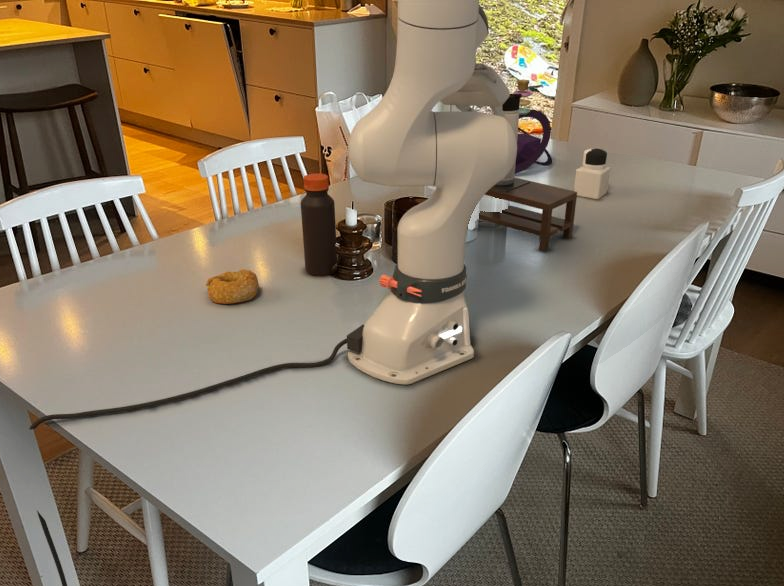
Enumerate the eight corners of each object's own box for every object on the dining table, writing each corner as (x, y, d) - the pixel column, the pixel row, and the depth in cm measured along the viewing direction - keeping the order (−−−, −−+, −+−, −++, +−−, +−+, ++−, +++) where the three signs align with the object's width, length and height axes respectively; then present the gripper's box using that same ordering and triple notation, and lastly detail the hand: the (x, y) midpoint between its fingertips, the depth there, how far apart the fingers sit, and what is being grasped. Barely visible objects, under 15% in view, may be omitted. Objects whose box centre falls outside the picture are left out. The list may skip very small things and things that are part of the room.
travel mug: (508, 187, 171) (514, 96, 161) (482, 183, 174) (487, 93, 164) (519, 181, 176) (526, 92, 166) (494, 176, 179) (500, 89, 169)
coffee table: (544, 252, 167) (549, 203, 162) (466, 229, 179) (468, 183, 174) (571, 237, 175) (577, 190, 169) (495, 216, 187) (497, 172, 182)
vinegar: (344, 270, 158) (340, 176, 148) (319, 279, 153) (313, 184, 143) (323, 261, 162) (317, 169, 152) (298, 270, 157) (291, 176, 147)
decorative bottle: (466, 165, 227) (469, 78, 215) (512, 153, 239) (518, 71, 227) (521, 181, 213) (528, 90, 200) (567, 168, 225) (577, 81, 212)
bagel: (239, 279, 153) (236, 258, 151) (270, 296, 146) (268, 274, 144) (196, 294, 147) (192, 271, 145) (226, 312, 140) (223, 289, 138)
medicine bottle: (607, 193, 204) (613, 149, 198) (597, 200, 199) (603, 155, 193) (582, 188, 208) (587, 145, 202) (572, 195, 202) (577, 151, 196)
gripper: (496, 52, 143) (528, 108, 151) (434, 55, 159) (466, 106, 167) (476, 75, 142) (510, 130, 150) (415, 75, 158) (449, 126, 166)
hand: (486, 117), depth 159 cm, fingers open, 8 cm apart
